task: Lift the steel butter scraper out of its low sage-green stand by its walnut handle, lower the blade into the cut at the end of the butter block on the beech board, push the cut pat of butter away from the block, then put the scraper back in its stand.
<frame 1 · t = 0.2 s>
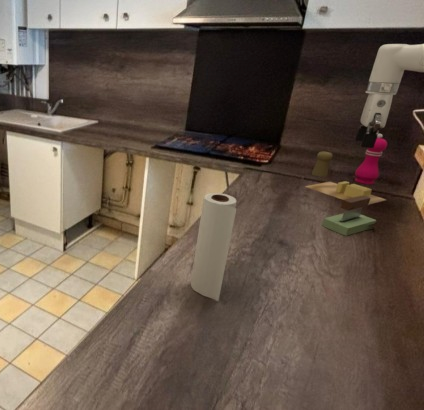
hand: (363, 143, 115), 20 cm above the table, tool pointing down, fingers open, 9 cm apart
board: (343, 196, 128), on the table
pepper mill: (362, 185, 140), on the table
scraper: (352, 213, 104), in the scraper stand
cork: (318, 178, 146), on the table
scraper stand: (347, 226, 106), on the table
butter block: (355, 196, 124), point 1 cm above the table, touching board
butter pat: (341, 191, 128), point 1 cm above the table, touching board
paper towel roll: (204, 289, 78), on the table
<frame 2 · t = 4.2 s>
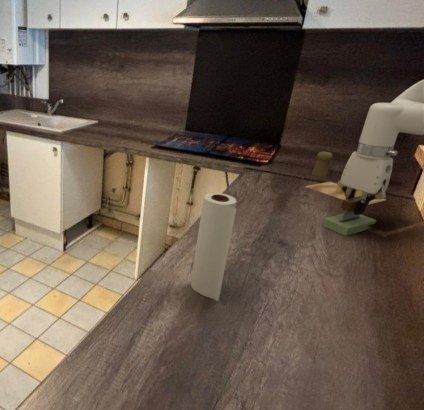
hand: (352, 211, 104), 5 cm above the table, tool pointing down, fingers closed on scraper, 2 cm apart
scraper: (352, 213, 104), in the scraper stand, touching gripper
everything else where it was.
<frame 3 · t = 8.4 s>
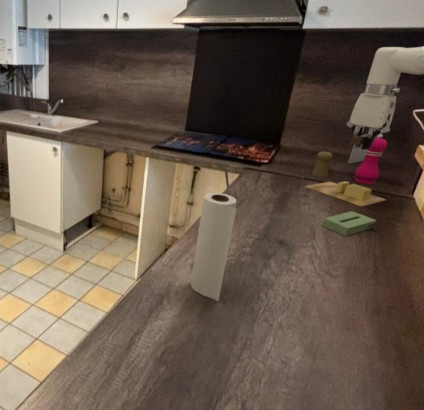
hand: (360, 147, 119), 18 cm above the table, tool pointing down, fingers closed on scraper
scraper: (360, 148, 119), point 18 cm above the table, touching gripper
everything else where it was.
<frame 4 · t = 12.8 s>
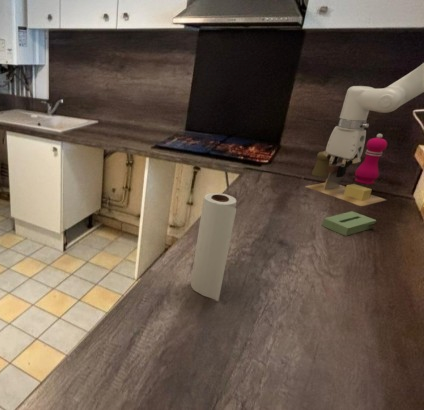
hand: (335, 175, 129), 7 cm above the table, tool pointing down, fingers closed on scraper, 2 cm apart
scraper: (335, 176, 129), point 6 cm above the table, touching butter pat, gripper
butter pat: (329, 187, 132), point 2 cm above the table, touching board, scraper
everything else where it was.
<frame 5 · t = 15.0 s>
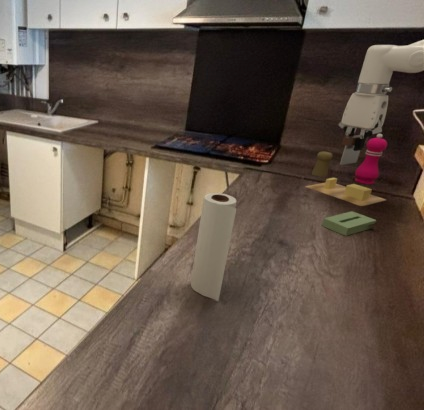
hand: (352, 148, 115), 19 cm above the table, tool pointing down, fingers closed on scraper
scraper: (352, 150, 115), point 18 cm above the table, touching gripper
butter pat: (329, 187, 132), point 1 cm above the table, touching board
everything else where it was.
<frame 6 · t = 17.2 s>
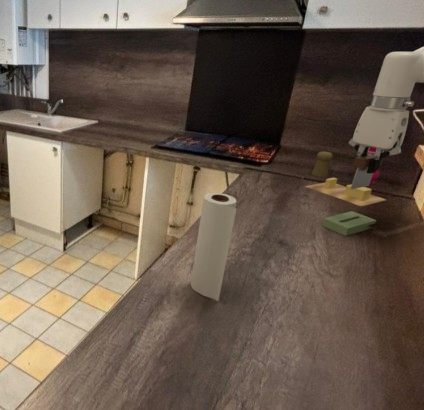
hand: (365, 170, 100), 17 cm above the table, tool pointing down, fingers closed on scraper
scraper: (364, 172, 100), point 17 cm above the table, touching gripper
everything else where it was.
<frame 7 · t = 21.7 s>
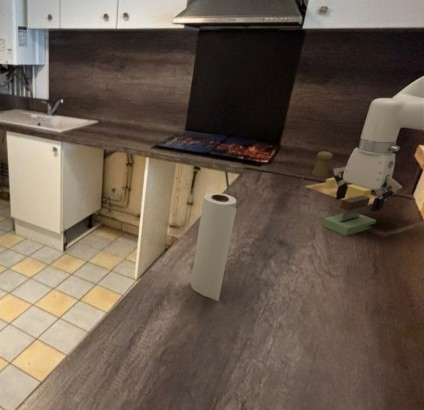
hand: (356, 204, 103), 7 cm above the table, tool pointing down, fingers open, 9 cm apart
scraper: (351, 213, 104), in the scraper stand
everything else where it was.
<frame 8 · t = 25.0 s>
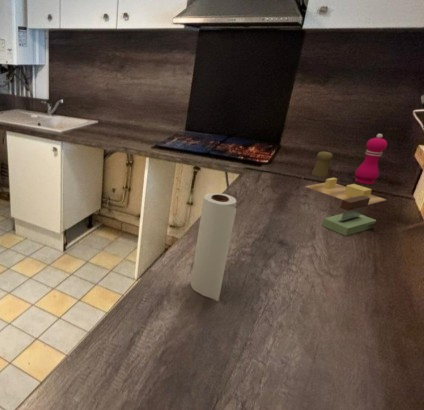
nothing on the table moved.
at the end: butter pat moved 4.3 cm from its start; butter block moved 0.0 cm from its start; scraper 0.2 cm off-centre on the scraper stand, point 4.5 cm above the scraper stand's base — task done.
